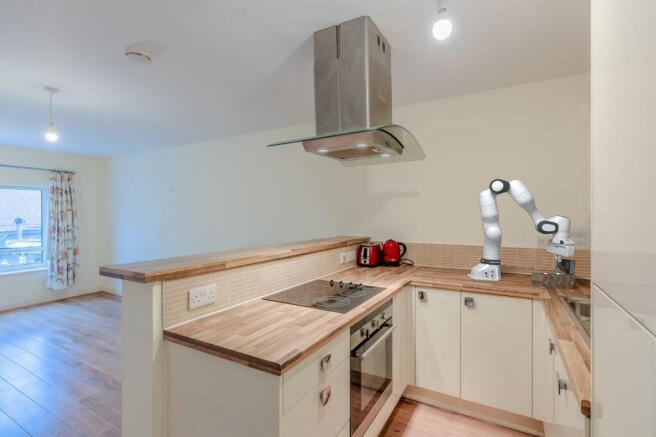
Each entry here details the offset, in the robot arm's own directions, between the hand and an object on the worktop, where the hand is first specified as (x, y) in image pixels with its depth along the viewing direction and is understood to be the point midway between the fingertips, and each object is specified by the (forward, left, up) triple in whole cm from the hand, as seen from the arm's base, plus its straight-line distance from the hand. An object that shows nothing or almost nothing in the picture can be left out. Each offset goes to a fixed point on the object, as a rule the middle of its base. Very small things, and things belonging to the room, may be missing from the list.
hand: (558, 261), depth 202 cm
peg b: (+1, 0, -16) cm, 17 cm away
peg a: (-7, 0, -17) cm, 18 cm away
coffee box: (+14, +12, -17) cm, 25 cm away
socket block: (-3, 0, -17) cm, 17 cm away
